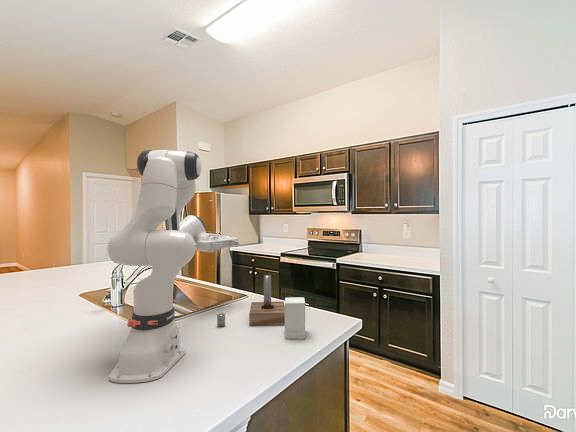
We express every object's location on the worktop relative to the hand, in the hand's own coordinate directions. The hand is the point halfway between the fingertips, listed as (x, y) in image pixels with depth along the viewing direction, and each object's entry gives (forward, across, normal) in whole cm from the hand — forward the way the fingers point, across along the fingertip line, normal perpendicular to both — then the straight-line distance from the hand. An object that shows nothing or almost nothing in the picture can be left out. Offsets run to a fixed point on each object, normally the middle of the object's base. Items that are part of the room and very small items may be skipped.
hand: (230, 244), depth 131 cm
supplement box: (+36, -3, +30) cm, 47 cm away
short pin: (+8, -13, +30) cm, 34 cm away
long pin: (+18, +3, +30) cm, 35 cm away
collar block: (+18, +3, +30) cm, 35 cm away
